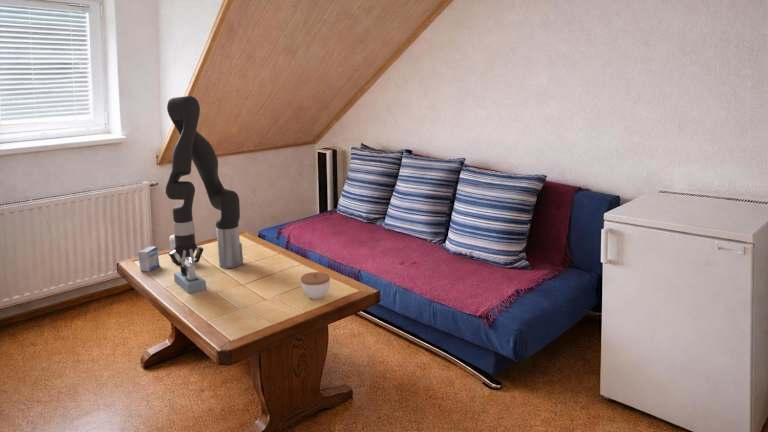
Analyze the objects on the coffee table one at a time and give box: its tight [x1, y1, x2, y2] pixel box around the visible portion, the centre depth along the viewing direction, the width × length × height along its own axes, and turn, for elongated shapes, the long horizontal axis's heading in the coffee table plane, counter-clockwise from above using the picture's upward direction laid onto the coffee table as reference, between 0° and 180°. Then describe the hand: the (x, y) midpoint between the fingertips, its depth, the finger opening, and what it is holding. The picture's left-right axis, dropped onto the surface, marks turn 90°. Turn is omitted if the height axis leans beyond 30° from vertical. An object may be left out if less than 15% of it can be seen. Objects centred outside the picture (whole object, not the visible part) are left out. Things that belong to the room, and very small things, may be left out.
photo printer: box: [168, 234, 190, 262], centre depth 274 cm, size 10×4×12 cm, turn 69°
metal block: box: [181, 259, 196, 282], centre depth 247 cm, size 2×10×7 cm, turn 35°
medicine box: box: [137, 246, 160, 273], centre depth 266 cm, size 8×4×9 cm, turn 168°
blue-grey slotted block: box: [173, 270, 207, 294], centre depth 248 cm, size 7×16×4 cm, turn 36°
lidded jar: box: [300, 271, 331, 300], centre depth 236 cm, size 11×11×9 cm
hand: (188, 273), depth 248 cm, fingers closed on metal block, 2 cm apart
